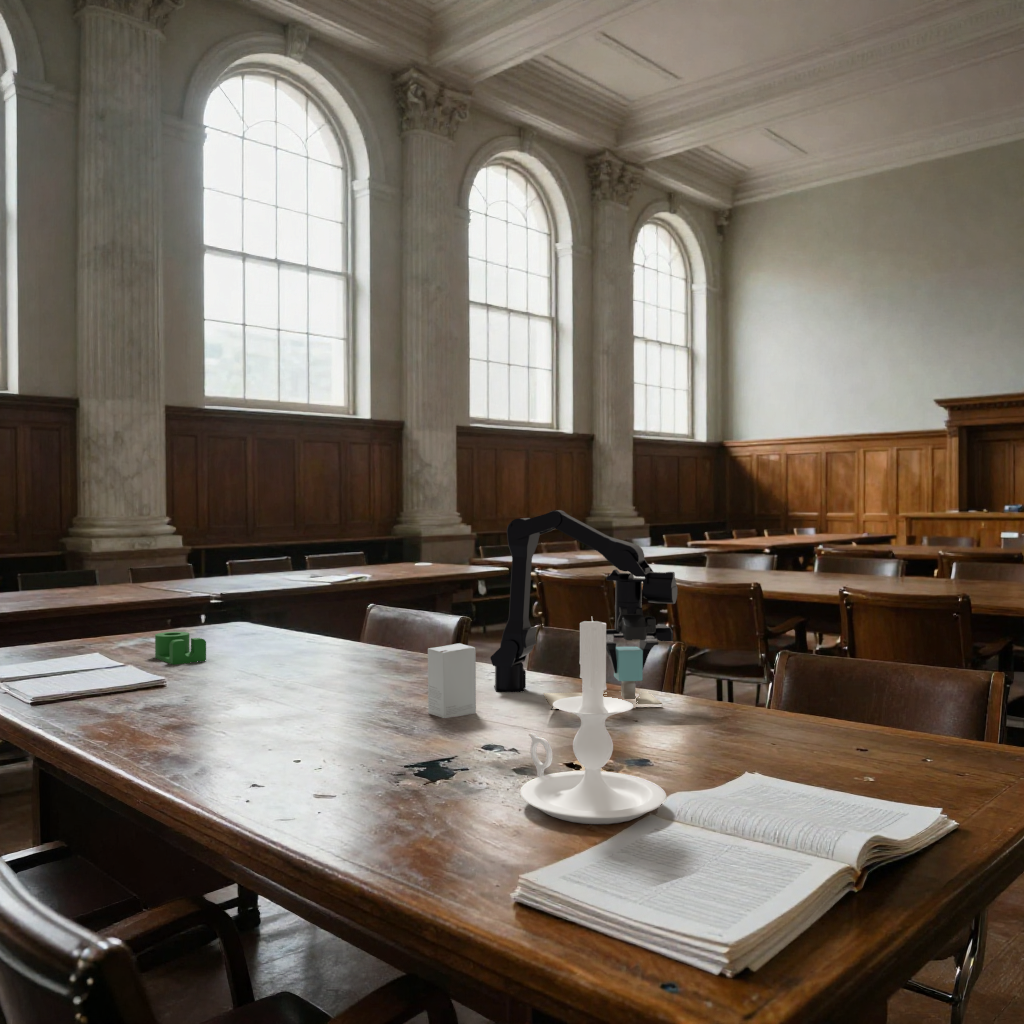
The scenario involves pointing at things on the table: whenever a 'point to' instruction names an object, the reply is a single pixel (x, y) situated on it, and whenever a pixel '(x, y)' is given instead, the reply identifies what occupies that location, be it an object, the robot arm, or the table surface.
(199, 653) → the slotted cylinder bracket
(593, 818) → the candlestick
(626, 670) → the teal rectangular block
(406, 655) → the table surface
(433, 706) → the skincare box
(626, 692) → the post stand
